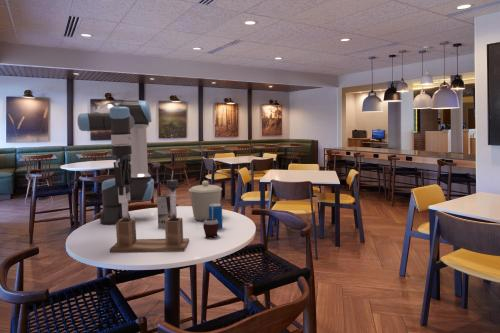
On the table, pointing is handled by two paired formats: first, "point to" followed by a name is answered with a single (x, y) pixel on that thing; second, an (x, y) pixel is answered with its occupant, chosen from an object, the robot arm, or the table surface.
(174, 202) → the plunger
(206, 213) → the canister
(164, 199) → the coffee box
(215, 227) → the mate gourd
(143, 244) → the stand
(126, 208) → the plunger
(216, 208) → the beverage can
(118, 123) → the robot arm
